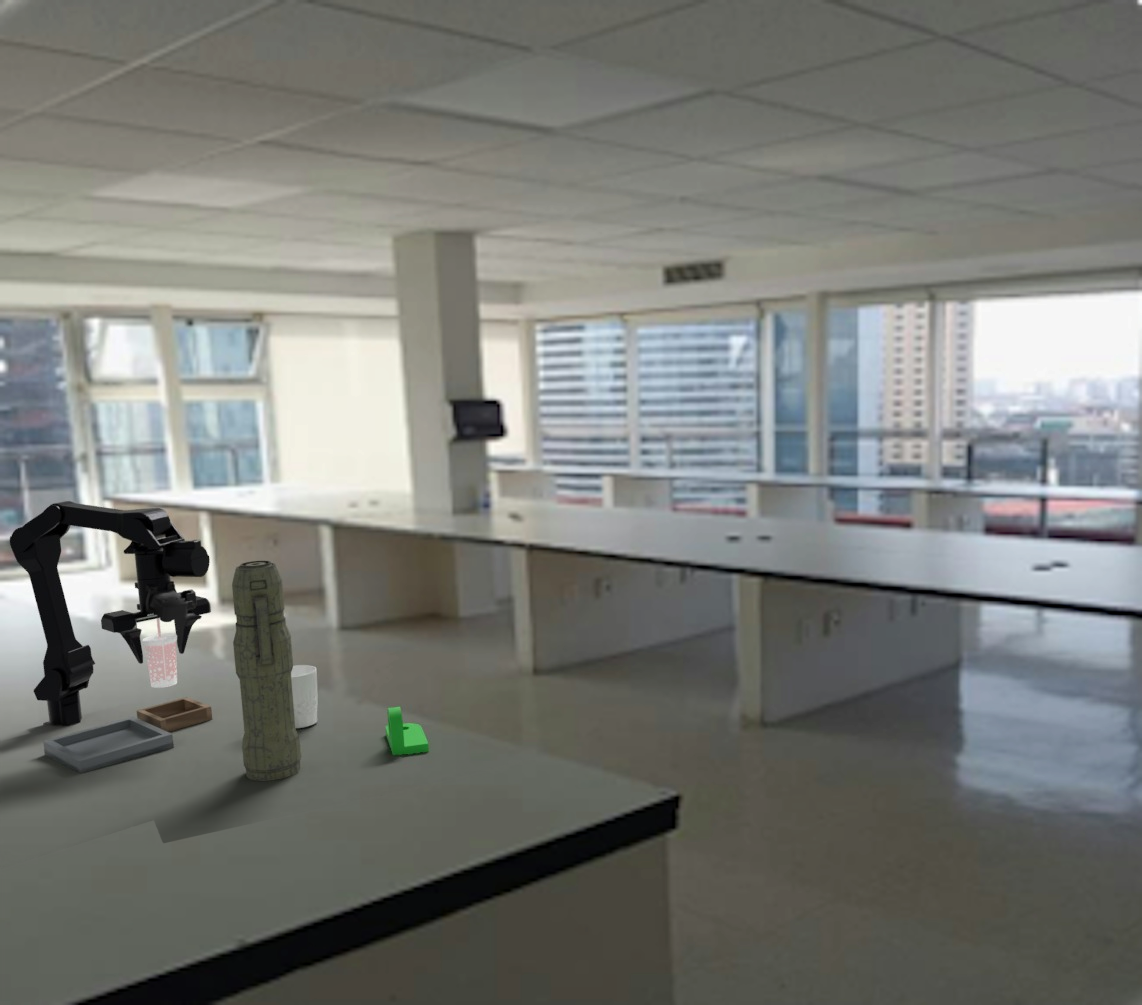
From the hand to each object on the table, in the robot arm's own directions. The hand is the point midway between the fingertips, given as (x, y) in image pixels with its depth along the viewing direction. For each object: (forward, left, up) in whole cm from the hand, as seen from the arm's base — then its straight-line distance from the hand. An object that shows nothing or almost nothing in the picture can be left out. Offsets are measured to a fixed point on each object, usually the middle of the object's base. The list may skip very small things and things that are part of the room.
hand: (161, 658), depth 195 cm
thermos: (+41, -1, -13) cm, 43 cm away
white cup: (+20, +16, -13) cm, 29 cm away
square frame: (-1, +2, -13) cm, 13 cm away
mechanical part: (+46, +21, -13) cm, 53 cm away
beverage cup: (0, 0, -5) cm, 5 cm away
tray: (+5, -13, -13) cm, 19 cm away
